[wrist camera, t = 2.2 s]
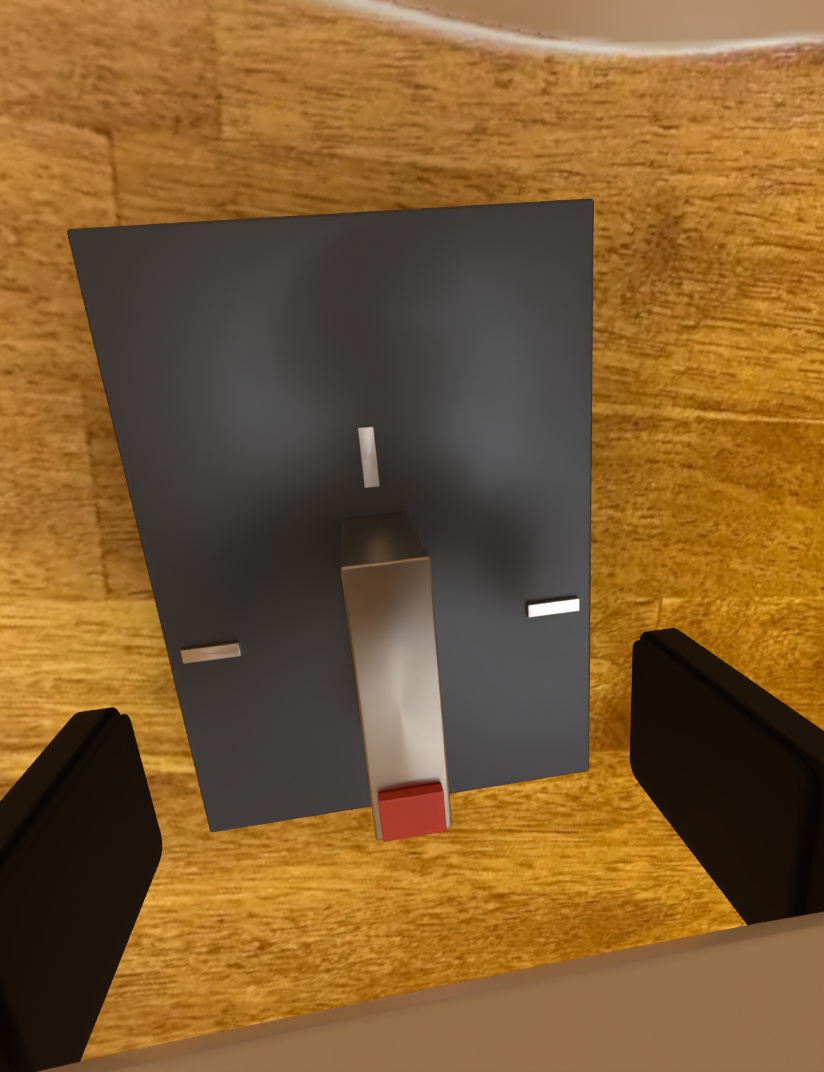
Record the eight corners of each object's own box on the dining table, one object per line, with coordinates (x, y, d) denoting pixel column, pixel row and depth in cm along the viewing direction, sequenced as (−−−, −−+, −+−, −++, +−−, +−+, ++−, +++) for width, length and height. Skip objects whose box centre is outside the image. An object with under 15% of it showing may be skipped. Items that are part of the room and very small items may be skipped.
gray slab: (341, 519, 13) (339, 571, 9) (408, 511, 13) (432, 560, 9) (369, 732, 14) (376, 851, 11) (426, 723, 14) (454, 838, 11)
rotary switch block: (132, 267, 14) (60, 225, 10) (538, 240, 15) (598, 194, 11) (235, 751, 18) (208, 838, 14) (546, 704, 19) (592, 775, 15)
